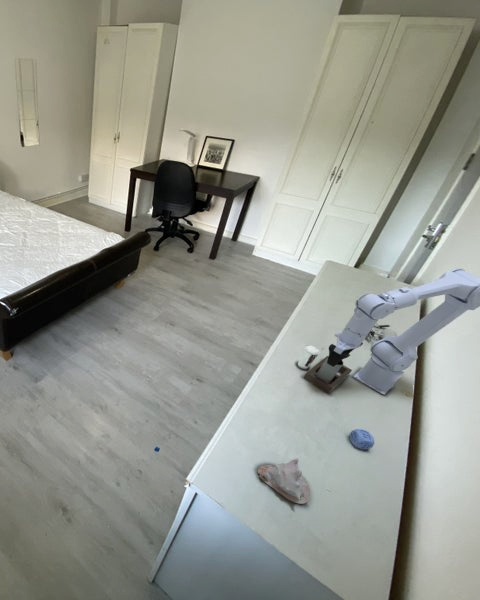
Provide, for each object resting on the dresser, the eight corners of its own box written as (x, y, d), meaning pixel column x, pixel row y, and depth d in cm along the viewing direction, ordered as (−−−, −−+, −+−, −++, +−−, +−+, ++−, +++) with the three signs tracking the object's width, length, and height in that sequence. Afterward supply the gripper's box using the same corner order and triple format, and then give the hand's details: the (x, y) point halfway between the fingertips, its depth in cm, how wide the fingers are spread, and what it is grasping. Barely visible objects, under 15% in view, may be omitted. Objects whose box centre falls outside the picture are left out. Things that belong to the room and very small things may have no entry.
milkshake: (313, 372, 118) (326, 352, 112) (297, 369, 118) (310, 349, 113) (309, 363, 121) (321, 343, 116) (293, 360, 122) (305, 341, 116)
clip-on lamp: (359, 326, 146) (357, 337, 133) (365, 313, 144) (363, 323, 131) (393, 336, 139) (394, 349, 126) (400, 323, 137) (402, 335, 124)
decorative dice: (353, 447, 94) (360, 439, 91) (347, 435, 97) (354, 427, 95) (368, 451, 93) (376, 443, 91) (362, 438, 96) (370, 430, 94)
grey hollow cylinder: (328, 387, 112) (344, 367, 106) (313, 382, 114) (327, 361, 108) (328, 379, 115) (343, 358, 109) (314, 373, 117) (327, 353, 111)
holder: (348, 375, 117) (352, 370, 115) (328, 393, 110) (332, 388, 108) (323, 361, 123) (327, 355, 121) (303, 377, 115) (306, 372, 114)
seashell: (311, 515, 78) (330, 497, 73) (258, 493, 82) (272, 475, 77) (305, 476, 86) (322, 457, 81) (257, 458, 90) (269, 439, 84)
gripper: (352, 315, 107) (332, 345, 115) (332, 330, 100) (312, 361, 108) (377, 326, 102) (354, 357, 110) (358, 343, 95) (335, 374, 103)
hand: (335, 360), depth 108 cm, fingers open, 7 cm apart
